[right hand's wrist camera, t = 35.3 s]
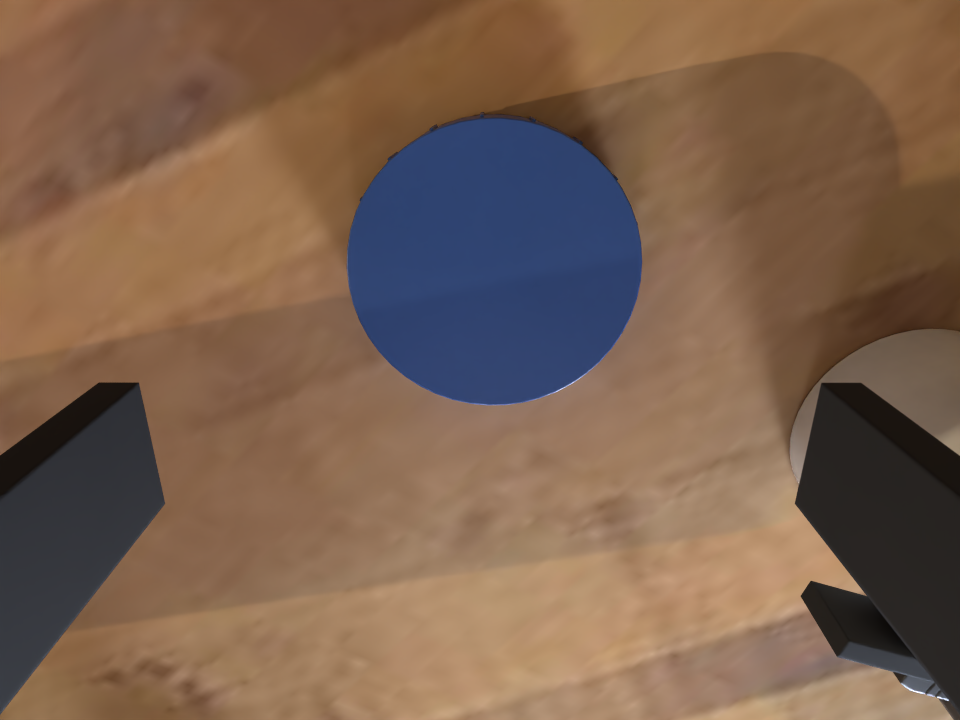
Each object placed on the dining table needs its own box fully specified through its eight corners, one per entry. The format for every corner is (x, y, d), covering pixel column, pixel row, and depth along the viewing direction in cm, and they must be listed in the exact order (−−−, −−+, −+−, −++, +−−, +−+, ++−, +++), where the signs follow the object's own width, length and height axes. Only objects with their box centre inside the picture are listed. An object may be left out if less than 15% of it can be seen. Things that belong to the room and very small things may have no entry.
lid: (301, 248, 24) (282, 264, 22) (504, 43, 21) (505, 38, 19) (484, 424, 27) (483, 454, 25) (684, 264, 24) (703, 282, 22)
